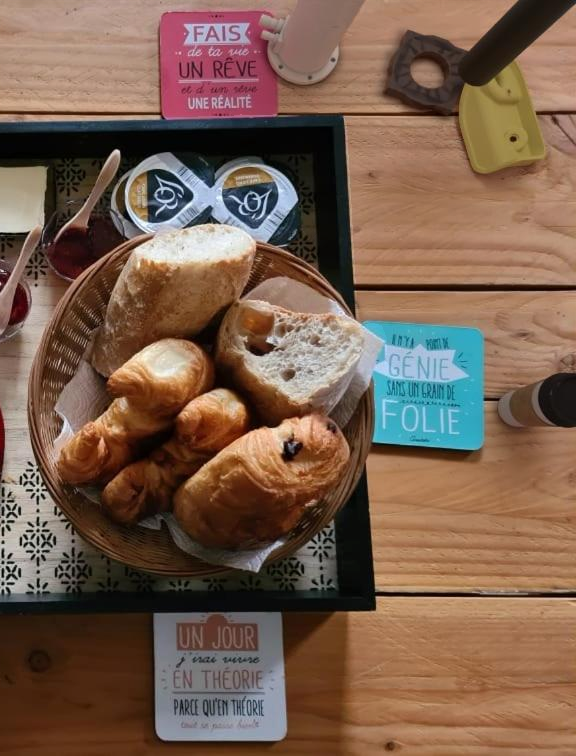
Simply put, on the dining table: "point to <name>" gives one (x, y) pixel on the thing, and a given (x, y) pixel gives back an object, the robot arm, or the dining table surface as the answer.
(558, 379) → the coffee cup
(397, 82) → the brown square ring
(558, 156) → the dining table surface
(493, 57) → the wine bottle
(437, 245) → the dining table surface
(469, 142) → the plastic component
